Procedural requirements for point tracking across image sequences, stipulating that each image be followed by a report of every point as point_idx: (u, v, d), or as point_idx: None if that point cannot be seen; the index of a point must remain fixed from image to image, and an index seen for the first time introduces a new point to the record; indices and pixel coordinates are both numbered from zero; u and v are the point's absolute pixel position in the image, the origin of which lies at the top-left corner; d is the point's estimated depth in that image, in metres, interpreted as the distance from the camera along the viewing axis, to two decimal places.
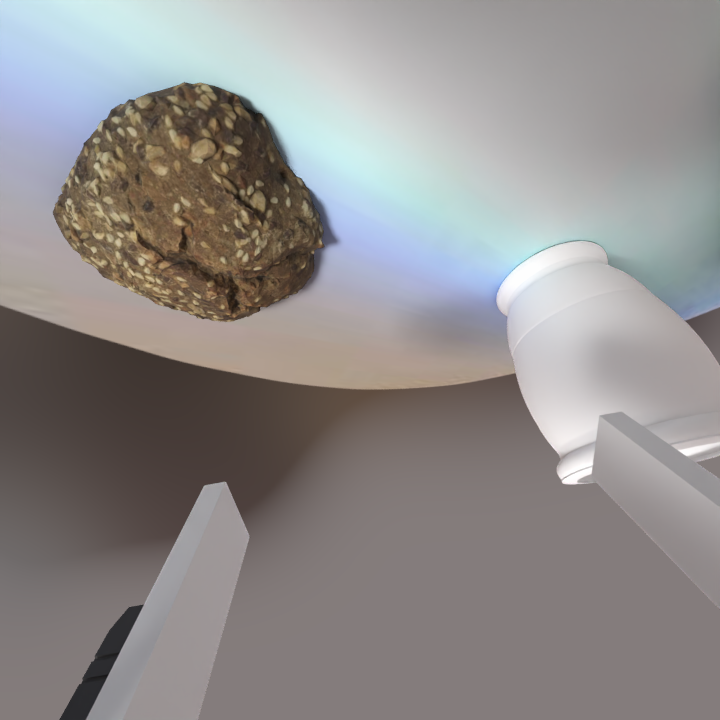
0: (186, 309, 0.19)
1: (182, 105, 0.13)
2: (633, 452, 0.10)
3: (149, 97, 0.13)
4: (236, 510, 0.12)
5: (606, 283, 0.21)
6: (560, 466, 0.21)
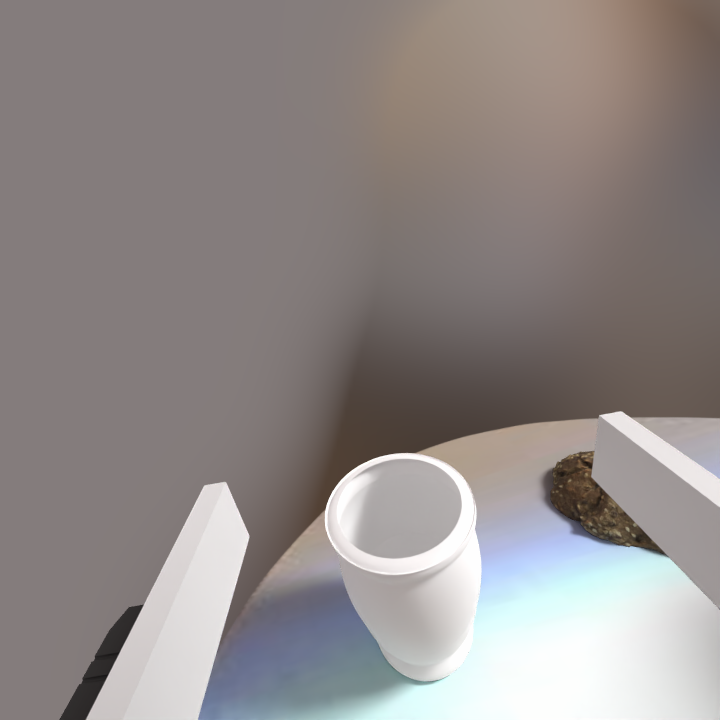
0: None
1: None
2: (633, 452, 0.10)
3: None
4: (236, 510, 0.12)
5: (470, 627, 0.25)
6: (433, 463, 0.27)
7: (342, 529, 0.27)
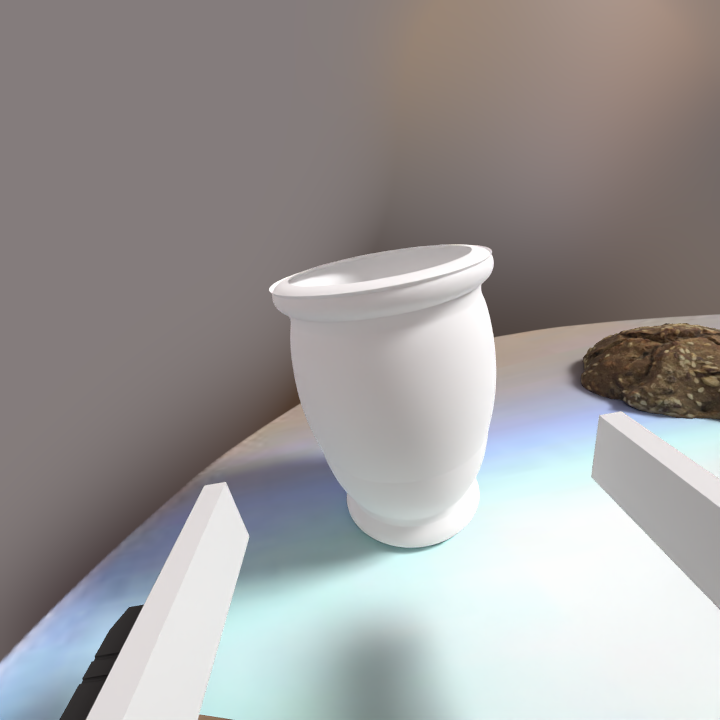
0: None
1: None
2: (633, 453, 0.10)
3: None
4: (236, 510, 0.12)
5: (477, 461, 0.17)
6: None
7: None
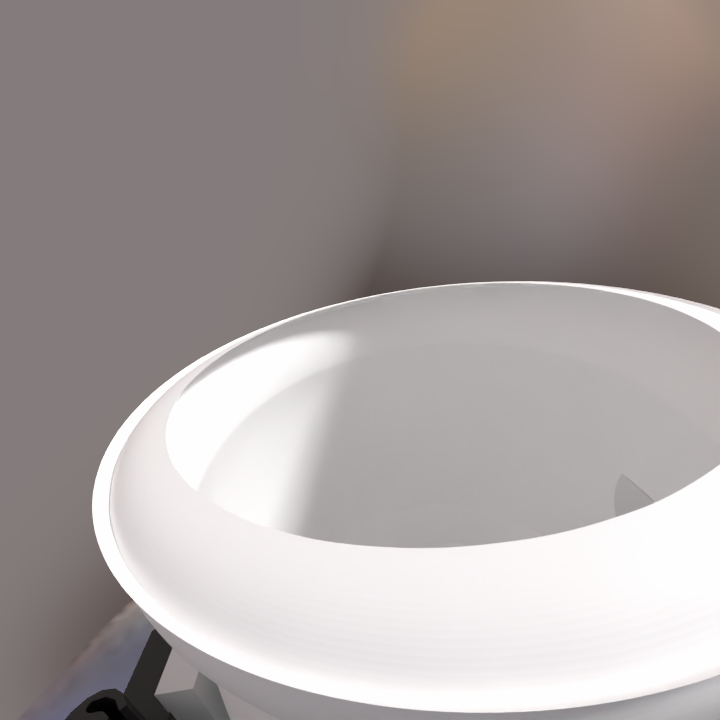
0: None
1: None
2: None
3: None
4: None
5: None
6: None
7: (252, 471, 0.10)
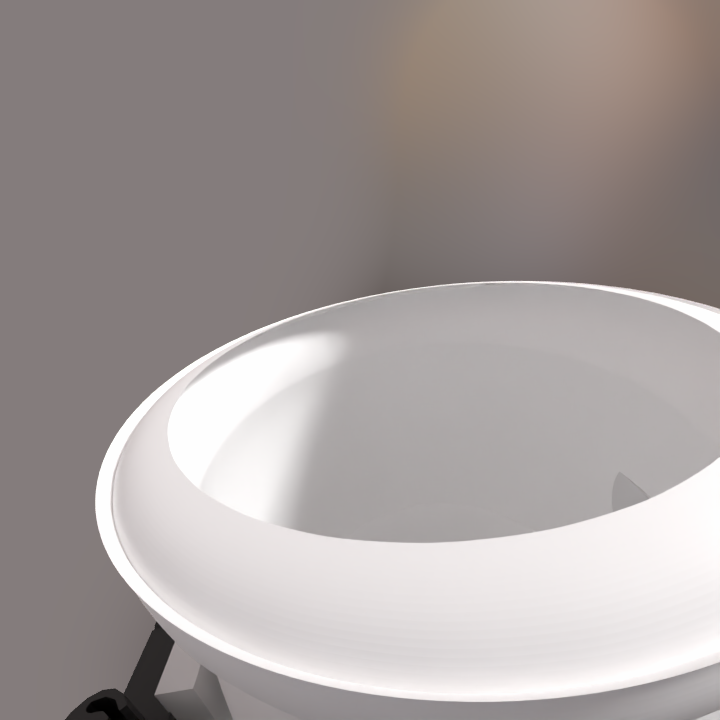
0: None
1: None
2: None
3: None
4: None
5: None
6: None
7: (253, 469, 0.10)
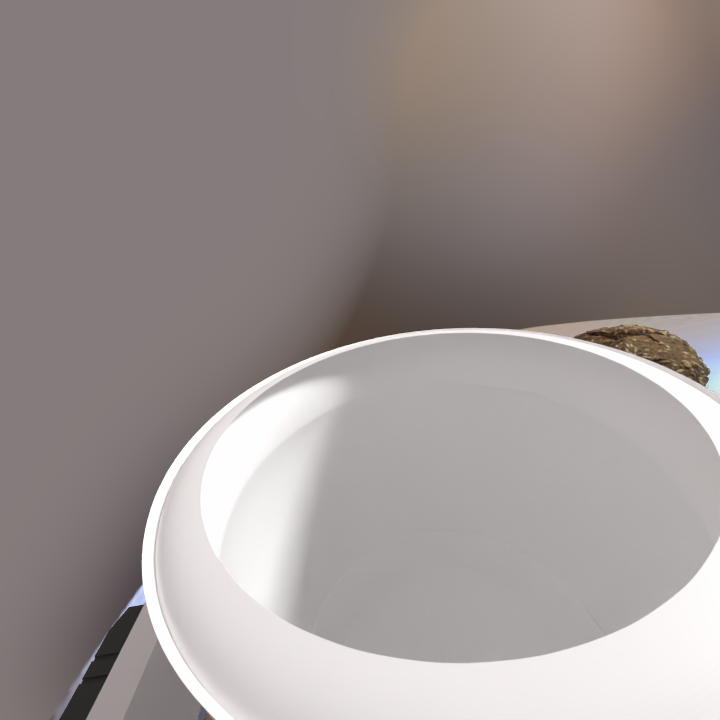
0: None
1: (703, 374, 0.31)
2: None
3: (709, 372, 0.32)
4: None
5: None
6: None
7: (266, 509, 0.10)
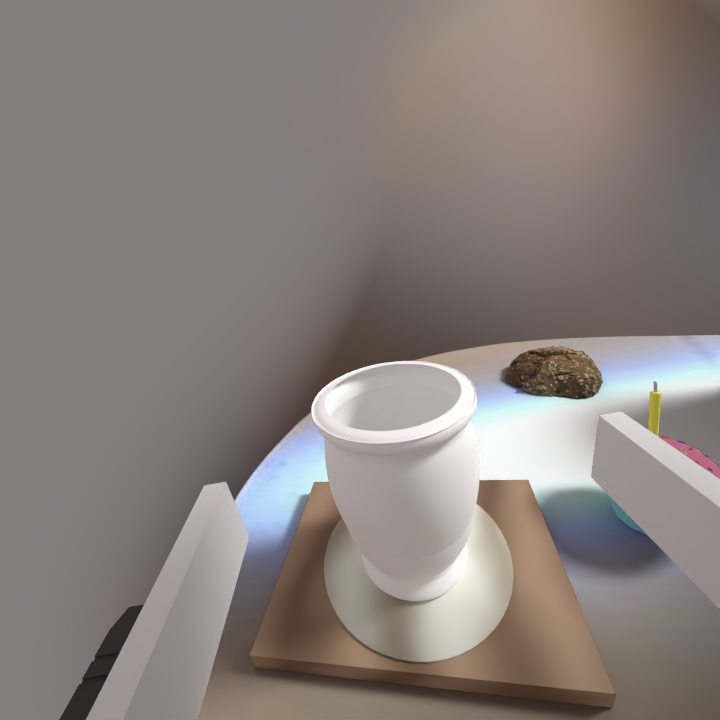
0: None
1: (596, 383, 0.46)
2: (633, 452, 0.10)
3: (601, 382, 0.47)
4: (236, 510, 0.12)
5: (465, 538, 0.23)
6: None
7: None
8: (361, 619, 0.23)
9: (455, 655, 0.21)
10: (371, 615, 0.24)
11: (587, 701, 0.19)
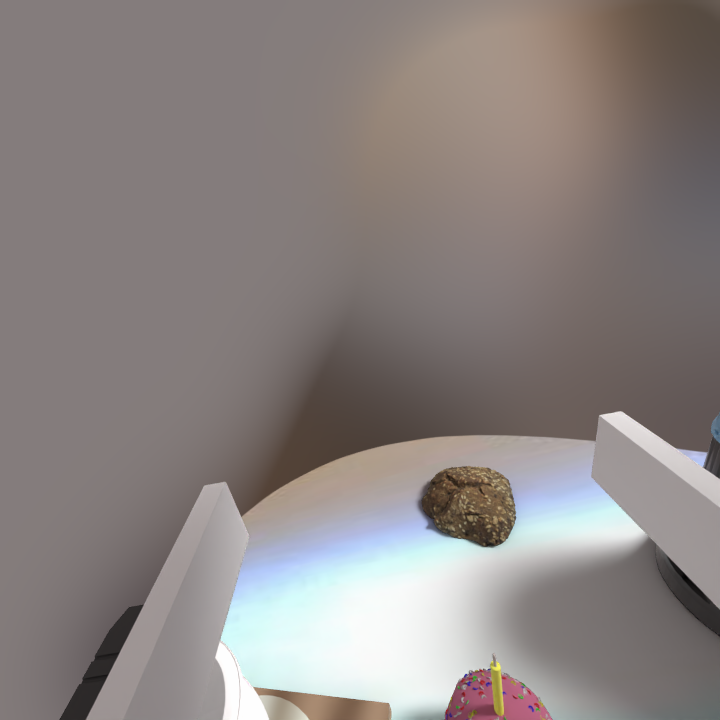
0: (461, 468, 0.50)
1: (505, 529, 0.43)
2: (633, 452, 0.10)
3: (512, 526, 0.43)
4: (236, 510, 0.12)
5: None
6: None
7: None
8: None
9: None
10: None
11: None
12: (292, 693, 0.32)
